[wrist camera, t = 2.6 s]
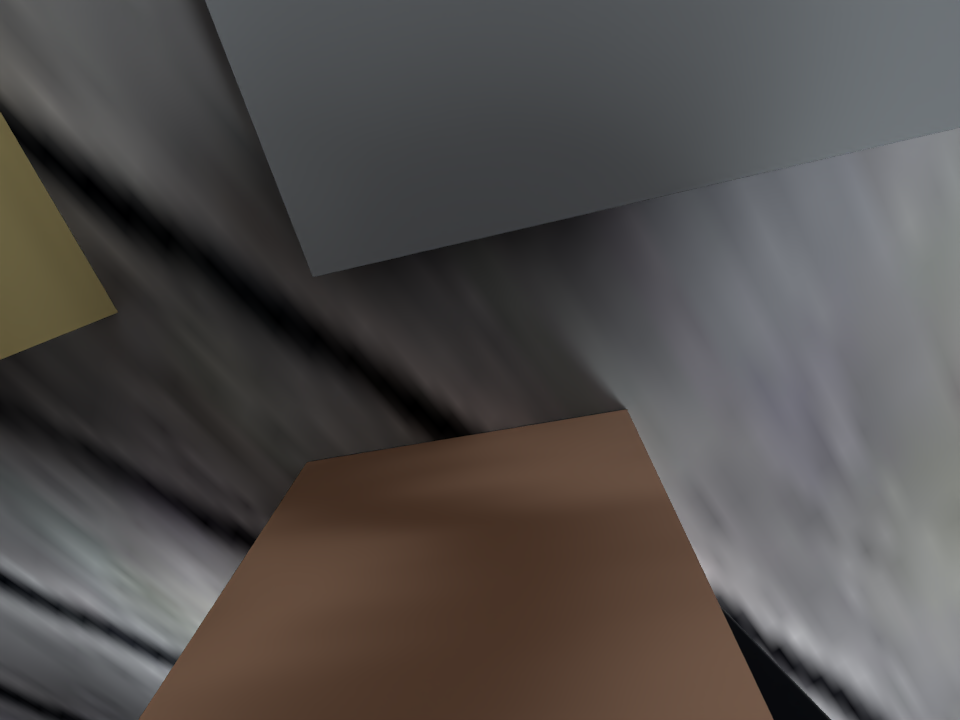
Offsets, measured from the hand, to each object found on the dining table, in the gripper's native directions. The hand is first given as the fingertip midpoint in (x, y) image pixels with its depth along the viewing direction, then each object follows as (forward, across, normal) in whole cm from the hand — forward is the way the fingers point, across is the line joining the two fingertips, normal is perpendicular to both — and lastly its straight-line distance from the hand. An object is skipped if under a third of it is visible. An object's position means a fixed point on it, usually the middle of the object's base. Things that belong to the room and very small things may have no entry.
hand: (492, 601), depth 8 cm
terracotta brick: (+1, 0, 0) cm, 1 cm away
